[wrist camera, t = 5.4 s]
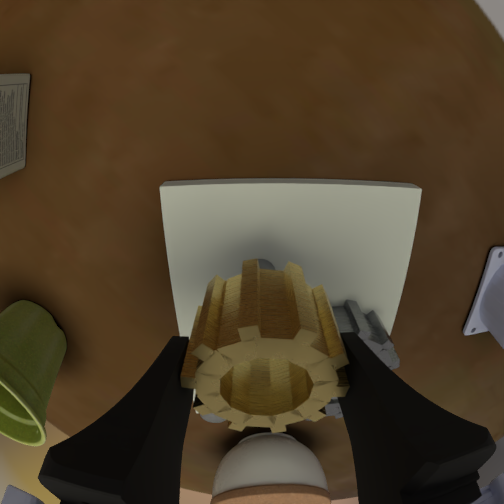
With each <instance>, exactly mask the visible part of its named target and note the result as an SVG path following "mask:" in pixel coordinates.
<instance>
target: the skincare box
mask: <svg viewBox="0 0 504 504" xmlns="http://www.w3.org/2000/svg"><path fill="white" fill-rule="evenodd" d="M29 83H30V74H0V179H1V178H3V177H5V176H7V175H9V174H11V173H13V172H16V171H18V170H20V169H22V168H24V167H25V156H26V126H27V108H28V95H29Z"/></svg>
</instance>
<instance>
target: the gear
mask: <svg viewBox="0 0 504 504" xmlns="http://www.w3.org/2000/svg"><path fill="white" fill-rule="evenodd" d="M332 310H333V313H334V316H335V319H336V322H337V325H338V328H339V331H340V333H344V332H355V333H356V334H357V335H358V336H359V337H360V338H361V339H362V340H363V341H364V342H365V344H366V345H367V346H368V347H369V348H370V349H371V350H372V351H373V352H374V353H375V354H376V355H377V356H378V357H379V358H380V359H381V360H382V361H383V362H384V363H385V364H386V365H387V366H388V367H389V368H390V369H391V370H392V369H395V368H398V367H399V361H400V360H399V358H398V356H397V354H396V352H395V350H394V348H393V346H394V344H393V342H392V340H391V338H390V336H389V334H388V332H387V331H386V329H385V327H384V325H383V323H382V321H381V319H380V318H379V316H378V315H377V314H376V312H375V311H374V310H372V311H371V312H369V313H368V314H365V313H363V312H361V310H360V308H359V306H358V304H357V302H356V301H353V300H348V299H346V301H345V303H344V305H343V306H332ZM325 410H326V416H332V415H335V418H336V419H337V418H341V417H343V414H342V411H341V408H340V404H339V401H338V399H331V400H330V402H328V404H327V405H326V406H325ZM306 420H308V421H312V420H310V419H308V418H307V419H306Z"/></svg>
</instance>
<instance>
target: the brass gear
mask: <svg viewBox="0 0 504 504" xmlns="http://www.w3.org/2000/svg"><path fill="white" fill-rule="evenodd" d="M347 364H349V360H348V357H347V354H346V351H345V347H344V344H343V341H342V338H341V335H340V331H339V328H338V325H337V322H336V319H335V316H334V313H333V310H332V307H331V304H330V301H329V298H328V295H327V293H326V291H325V289H324V287H323V285H322V284H321V285H319V286H317V287H315V288H313V289H312V288H311V286H309V285H308V284H306V282H305V278H304V274H303V270H302V266H299V265H297V264H294V263H292V262H289V261H288V263H287V265H286V267H285V269H284V270H283V271H280V270H269V269H260V267H259V263H258V259H257V258H256V259H250V260H245V261H243V265H242V274H239V275H237V276H234V277H231V278H229V279H227V280H226V281H225V280H223V279H222V278H221V277H219V276H218V275H216V276H215V277H214V278H213V279H212V280H211V281H210V282H209V283H208V285H207V289H206V293H205V297H204V301H203V305H202V306H198V309H197V313H196V316H195V320H194V324H193V328H192V332H191V336H190V340H189V344H188V348H187V352H186V356H185V360H184V364H183V368H182V372H181V376H180V377H181V387H184V388H192V389H196V394H195V400H194V405H193V408H194V409H195V410H196V411H197V412H199V413H200V414H201V415H202V416H203V415H207V414H210V413H213V414H214V415H216V416H218V417H221V418H223V419H226V420H228V428H230V429H234V430H238V431H242V430H243V429H244V428H245V427H246V426H253V427H270V428H271V431H272V433H277V432H284V431H286V425H287V424H291V423H294V422H298V421H302V420H305V419H307V418H308V419H310V420H312V421H314V422H316V421H317V420H319V419H321V418H323V417H324V416H326V410H325V406H326V405H327V404H328V402H330V400H331V398H332V397H345V395H346V393H347V391H348V389H349V387H350V386H349V382H348V379H347V375H346V371H345V368H344V366H345V365H347Z"/></svg>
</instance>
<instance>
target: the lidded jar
mask: <svg viewBox="0 0 504 504" xmlns="http://www.w3.org/2000/svg"><path fill="white" fill-rule="evenodd" d="M210 504H331V497H330V493H329V492H328V487H327V482H326V478H325V474H324V471H323V469H322V466H321V464H320V462H319V460H318V459H317V457H316V456H315V455H314V453H313V452H312V451H311V450H310V449H309V448H308V447H306V446H305V445H303V444H302V443H300V442H298V441H297V440H296V439H295V438H294V437H292V436H290V435H288V434H284V433H278V432H277V433H272V432H264V433H257V434H253V435H250V436H247V437H245V438H243V439H242V440H241V441H240V442H239V443H238V445H236V446H235V447H233V448H232V449H231V450H230V451H229V452H228V453H227V454H226V455H225V456H224V457H223V459H222V460H221V462H220V464H219V466H218V469H217V471H216V474H215V478H214V483H213V491H212V499H211V503H210Z"/></svg>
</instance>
